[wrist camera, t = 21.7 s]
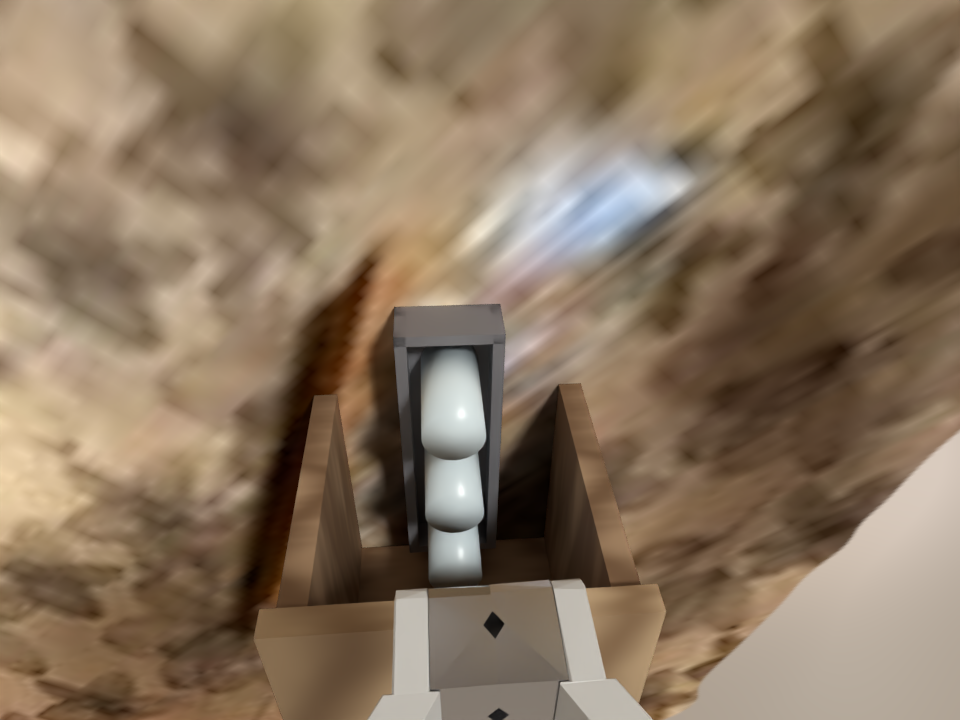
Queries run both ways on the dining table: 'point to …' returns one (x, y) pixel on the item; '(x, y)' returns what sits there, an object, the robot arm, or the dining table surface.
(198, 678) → the dining table surface
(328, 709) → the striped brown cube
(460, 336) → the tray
